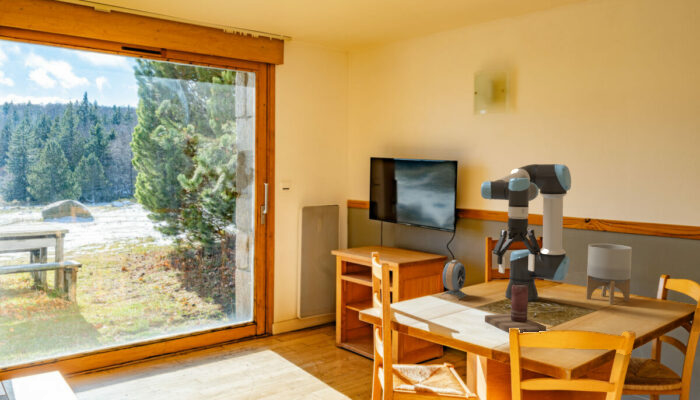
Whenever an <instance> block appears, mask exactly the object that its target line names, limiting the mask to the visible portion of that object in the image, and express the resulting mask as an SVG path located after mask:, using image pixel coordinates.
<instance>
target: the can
mask: <svg viewBox="0 0 700 400" xmlns="http://www.w3.org/2000/svg"><path fill="white" fill-rule="evenodd" d="M510 300H511V302H510V303H511V305H510V306H511V307H510V313H511V320H512V321H515V322H526V321H527V319H528V304H529V303H528V302H529V301H528V287H527V285H523V284H513V286H512V299H510Z"/></svg>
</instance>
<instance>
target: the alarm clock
mask: <svg viewBox="0 0 700 400" xmlns="http://www.w3.org/2000/svg"><path fill="white" fill-rule="evenodd" d="M466 274H467V273H466V268H465V265H464V264H463V263H462V262H460V261H459V260H458V259H452V260H451V261H449V262H448V263H446V264H445V266H444V268H443V271H442V283H443V287H444V288H446V289H447V290H448V291H446V292H444V293H442V294H441V295H440V296H439V298H441V297H445V298H444V299H448V298H452V299H451V300H454V299H458V300H457V301H459V299H460V300H461V298H462V299H464V298H465V297H467V296H468V294H467V293H465V292H463V291H462V288H463V287H464V285H465V282H466ZM466 295H467V296H466Z"/></svg>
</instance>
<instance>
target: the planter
mask: <svg viewBox="0 0 700 400" xmlns="http://www.w3.org/2000/svg"><path fill="white" fill-rule="evenodd" d="M632 250H633V247H631V246H627V245H621V244H614V243H613V244H611V243H590V244H588V247H587V268H586V270H587V271H586V274H587V276H586V290H585V291H586V296H585V297H586V300H592V295H593V293H594V291H596V290H597V289H598V288H600V287H601V297H607V289H608V303H609V305H611V306H612V305H613V306H614V303H615V288H617V289H618V290H620V292H621V293H622V296H623V300H624V301H623V302H627V303H629V302H630V289H631V275H632V274H631V272H632V252H633V251H632Z"/></svg>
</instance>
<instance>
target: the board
mask: <svg viewBox="0 0 700 400" xmlns="http://www.w3.org/2000/svg"><path fill="white" fill-rule="evenodd" d="M484 322H485V323H487V324H489V325H491V326H493V327H495V328H497V329H499V330H502V331H503V332H505V333H507V332H508V333H507V334H509V328H519V330H520V333H523V332H539V331H546V332H547V326H546V325H544V324H541V323H539V322H536V321H534V320H532V319H529V318H527V321H526V322H515V321H512V320H511V312H510V313H499V314H487V315H484Z"/></svg>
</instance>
